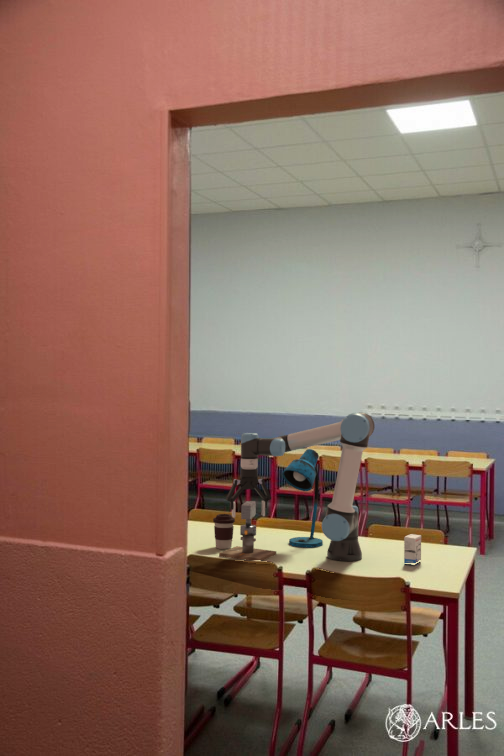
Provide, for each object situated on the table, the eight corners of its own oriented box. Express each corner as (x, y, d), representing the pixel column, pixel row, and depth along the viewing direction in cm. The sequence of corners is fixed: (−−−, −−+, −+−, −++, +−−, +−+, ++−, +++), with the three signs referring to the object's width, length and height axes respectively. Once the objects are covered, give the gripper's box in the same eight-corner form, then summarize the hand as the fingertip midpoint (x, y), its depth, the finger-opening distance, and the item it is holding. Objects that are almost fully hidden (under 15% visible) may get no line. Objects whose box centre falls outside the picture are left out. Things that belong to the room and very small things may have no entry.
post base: (276, 554, 330) (276, 534, 330) (259, 562, 316) (260, 541, 316) (236, 549, 340) (237, 529, 340) (219, 556, 325) (219, 536, 326)
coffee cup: (231, 550, 337) (232, 517, 337) (210, 549, 339) (210, 516, 339) (236, 545, 347) (236, 513, 347) (215, 544, 349) (216, 512, 349)
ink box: (414, 566, 313) (415, 538, 313) (403, 564, 315) (403, 536, 316) (421, 562, 320) (421, 534, 320) (410, 560, 323) (410, 533, 323)
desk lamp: (275, 545, 348) (276, 449, 349) (303, 538, 365) (304, 447, 365) (302, 551, 338) (304, 452, 338) (330, 543, 355) (331, 449, 355)
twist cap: (243, 531, 335) (243, 500, 335) (258, 532, 333) (258, 501, 333) (237, 536, 323) (238, 505, 323) (253, 537, 321) (253, 505, 321)
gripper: (224, 469, 321) (223, 519, 321) (278, 468, 328) (277, 516, 328) (219, 467, 328) (218, 515, 328) (273, 466, 335) (272, 513, 335)
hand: (248, 516), depth 328 cm, fingers open, 13 cm apart
